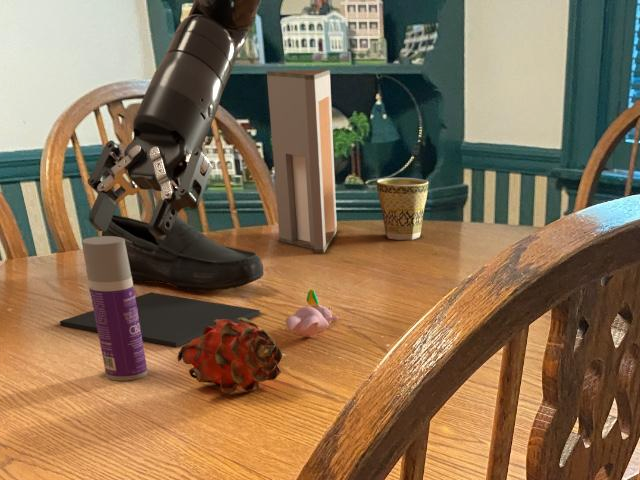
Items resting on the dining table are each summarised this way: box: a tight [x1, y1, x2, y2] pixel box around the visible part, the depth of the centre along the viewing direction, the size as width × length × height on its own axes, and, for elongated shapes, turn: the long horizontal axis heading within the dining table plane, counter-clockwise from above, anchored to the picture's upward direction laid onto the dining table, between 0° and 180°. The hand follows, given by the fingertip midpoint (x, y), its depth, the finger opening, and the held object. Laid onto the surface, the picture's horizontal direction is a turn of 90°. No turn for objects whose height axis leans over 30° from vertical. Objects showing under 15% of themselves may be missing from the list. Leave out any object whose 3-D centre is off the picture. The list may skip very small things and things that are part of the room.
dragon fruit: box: [175, 318, 283, 395], centre depth 102 cm, size 8×8×12 cm
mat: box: [59, 292, 261, 348], centre depth 126 cm, size 20×18×1 cm
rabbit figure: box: [285, 288, 339, 338], centre depth 120 cm, size 6×6×15 cm
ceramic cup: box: [375, 177, 429, 241], centre depth 177 cm, size 13×10×10 cm
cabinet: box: [266, 69, 338, 254], centre depth 165 cm, size 21×10×28 cm, turn 179°
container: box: [81, 235, 148, 382], centre depth 103 cm, size 5×5×15 cm
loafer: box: [101, 214, 265, 292], centre depth 140 cm, size 10×29×10 cm, turn 71°
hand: (125, 231), depth 101 cm, fingers open, 8 cm apart
